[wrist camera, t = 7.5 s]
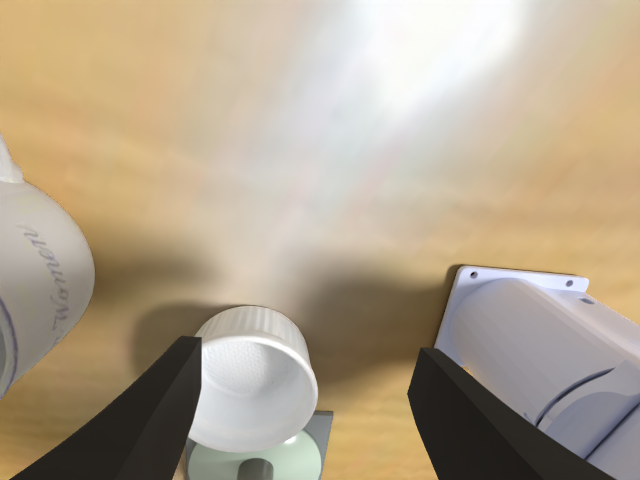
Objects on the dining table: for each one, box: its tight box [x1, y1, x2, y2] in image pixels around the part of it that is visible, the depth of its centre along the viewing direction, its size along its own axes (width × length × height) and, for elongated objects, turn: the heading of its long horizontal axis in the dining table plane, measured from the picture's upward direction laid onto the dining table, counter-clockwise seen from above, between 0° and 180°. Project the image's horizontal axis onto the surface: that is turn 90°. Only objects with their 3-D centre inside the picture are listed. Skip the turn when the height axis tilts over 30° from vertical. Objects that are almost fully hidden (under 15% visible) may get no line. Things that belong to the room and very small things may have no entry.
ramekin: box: [188, 306, 318, 453], centre depth 21 cm, size 9×9×4 cm
